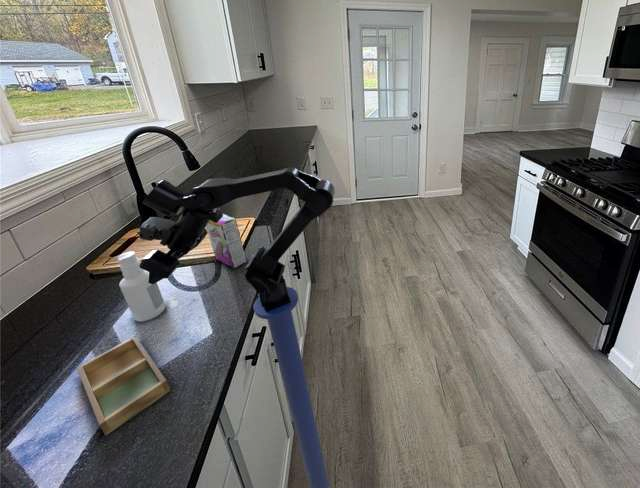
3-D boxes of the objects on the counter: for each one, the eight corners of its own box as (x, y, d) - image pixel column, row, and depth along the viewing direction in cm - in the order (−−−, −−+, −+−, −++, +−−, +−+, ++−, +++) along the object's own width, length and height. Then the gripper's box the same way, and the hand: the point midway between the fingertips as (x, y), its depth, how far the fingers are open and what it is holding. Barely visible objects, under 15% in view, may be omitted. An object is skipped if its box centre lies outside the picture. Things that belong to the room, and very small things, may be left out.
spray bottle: (171, 307, 85) (149, 250, 78) (143, 325, 79) (117, 265, 73) (156, 300, 88) (134, 245, 81) (128, 317, 82) (102, 259, 75)
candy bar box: (214, 260, 106) (201, 216, 100) (229, 252, 110) (217, 210, 104) (233, 269, 100) (220, 224, 94) (248, 261, 104) (236, 217, 98)
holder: (139, 344, 74) (135, 335, 72) (171, 390, 62) (166, 380, 61) (82, 377, 66) (76, 367, 65) (105, 435, 55) (99, 425, 54)
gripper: (178, 192, 81) (152, 236, 84) (128, 226, 63) (98, 280, 67) (219, 214, 84) (193, 256, 87) (183, 252, 67) (152, 302, 70)
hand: (162, 271), depth 78 cm, fingers open, 9 cm apart
